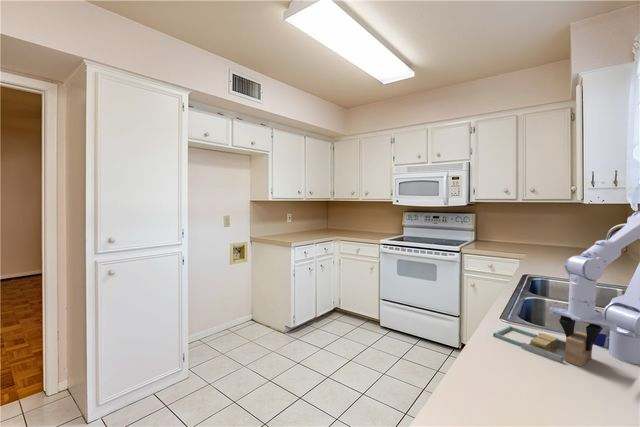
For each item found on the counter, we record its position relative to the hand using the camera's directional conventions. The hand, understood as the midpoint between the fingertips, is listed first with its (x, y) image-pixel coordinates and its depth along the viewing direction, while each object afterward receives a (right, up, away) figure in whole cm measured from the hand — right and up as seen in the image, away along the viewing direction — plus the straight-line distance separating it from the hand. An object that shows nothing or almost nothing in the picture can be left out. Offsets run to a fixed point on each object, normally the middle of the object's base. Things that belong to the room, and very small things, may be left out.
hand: (579, 347), depth 87 cm
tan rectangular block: (0, -3, 0) cm, 3 cm away
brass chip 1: (-7, -3, +6) cm, 9 cm away
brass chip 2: (-3, -3, +9) cm, 9 cm away
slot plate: (-4, -5, +6) cm, 9 cm away
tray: (-9, -4, +14) cm, 17 cm away
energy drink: (+15, -5, +10) cm, 19 cm away
